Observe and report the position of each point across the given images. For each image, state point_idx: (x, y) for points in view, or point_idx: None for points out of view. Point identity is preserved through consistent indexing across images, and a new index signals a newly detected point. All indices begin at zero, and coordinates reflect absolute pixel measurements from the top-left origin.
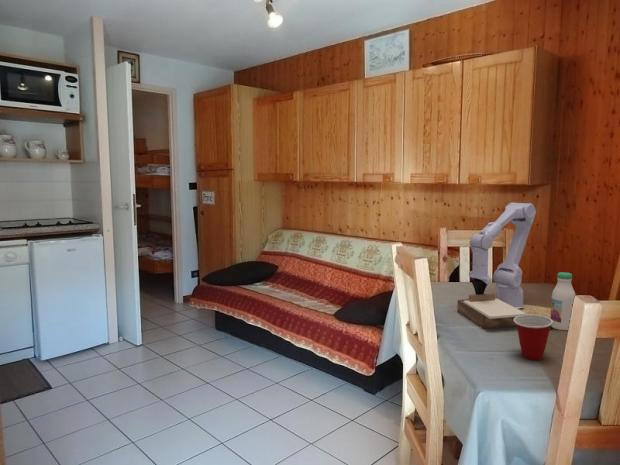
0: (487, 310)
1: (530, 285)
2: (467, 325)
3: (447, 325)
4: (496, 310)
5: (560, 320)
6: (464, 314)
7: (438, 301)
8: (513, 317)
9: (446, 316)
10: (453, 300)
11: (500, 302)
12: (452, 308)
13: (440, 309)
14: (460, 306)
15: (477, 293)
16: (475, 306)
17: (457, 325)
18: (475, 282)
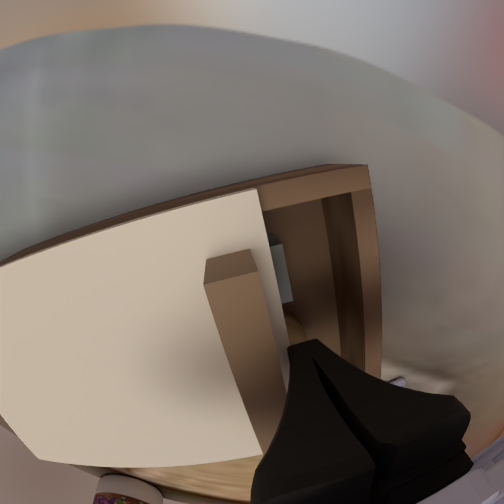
0: (1, 323)
1: (488, 441)
2: (53, 174)
3: (59, 64)
4: (21, 375)
5: (94, 499)
6: (223, 187)
7: (487, 127)
8: None
9: (224, 66)
10: (494, 209)
11: (207, 448)
12: (393, 154)
13: (372, 73)
14: (299, 173)
15: (289, 372)
16: (63, 266)
17: (54, 117)
18: (282, 481)
